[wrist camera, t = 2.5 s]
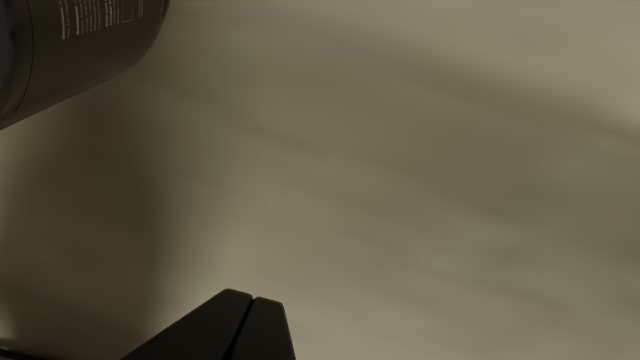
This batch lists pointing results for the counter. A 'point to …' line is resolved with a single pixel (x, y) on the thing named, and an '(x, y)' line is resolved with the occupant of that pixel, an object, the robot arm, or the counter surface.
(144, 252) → the counter surface
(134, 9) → the supplement bottle
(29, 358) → the robot arm
